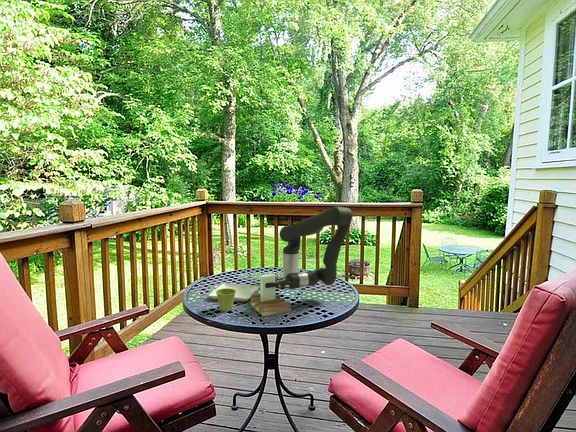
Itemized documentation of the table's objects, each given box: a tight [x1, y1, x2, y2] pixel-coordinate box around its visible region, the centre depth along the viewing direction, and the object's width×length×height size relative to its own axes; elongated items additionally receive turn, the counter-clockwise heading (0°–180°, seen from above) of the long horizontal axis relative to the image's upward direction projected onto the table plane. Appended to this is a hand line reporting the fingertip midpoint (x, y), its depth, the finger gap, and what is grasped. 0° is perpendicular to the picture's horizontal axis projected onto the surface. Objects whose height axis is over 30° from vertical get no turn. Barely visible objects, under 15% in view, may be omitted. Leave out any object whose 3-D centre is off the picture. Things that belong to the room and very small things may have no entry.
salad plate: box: [208, 282, 260, 302], centre depth 196 cm, size 21×21×3 cm
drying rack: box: [249, 291, 292, 317], centre depth 179 cm, size 17×14×4 cm
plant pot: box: [216, 288, 236, 312], centre depth 176 cm, size 9×9×9 cm
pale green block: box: [259, 273, 276, 302], centre depth 178 cm, size 3×6×14 cm, turn 116°
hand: (264, 284), depth 177 cm, fingers closed on pale green block, 2 cm apart
